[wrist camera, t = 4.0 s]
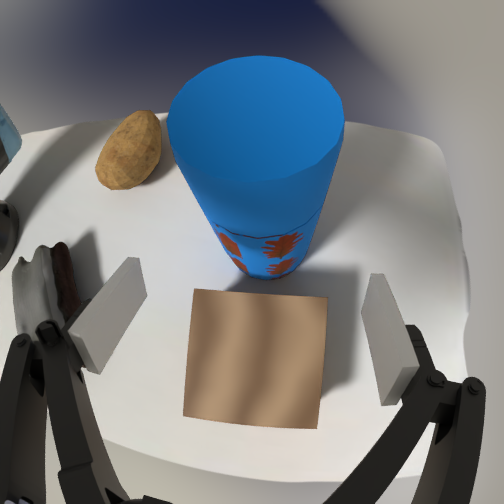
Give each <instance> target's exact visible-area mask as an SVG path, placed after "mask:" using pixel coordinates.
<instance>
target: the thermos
mask: <svg viewBox="0 0 504 504" xmlns="http://www.w3.org/2000/svg"><path fill="white" fill-rule="evenodd" d="M166 123H167V128H168V134H169V139H170V144H171V147H172V151H173V154H174V157H175V161H176V163H177V165H178V167H179V168H180V170H181V172H182V174H183V176H184V178H185V179H186V181H187V183H188V185H189V187H190V189H191V190H192V192H193V194H194V196H195V198H196V199H197V201H198V203H199V205H200V207H201V208H202V210H203V212H204V214H205V216H206V217H207V219H208V221H209V223H210V225H211V226H212V228H213V230H214V232H215V234H216V235H217V237H218V239H219V241H220V242H221V244H222V246H223V248H224V249H225V251H226V253H227V254H228V255H229V257H230V258H231V259H232V261H233V262H234V263H235V264H236V266H237V267H238V268H239V269H240V270H241V271H243V272H244V273H246V274H248V275H249V276H251V277H254V278H258V279H263V280H270V279H277V278H281V277H283V276H285V275H287V274H289V273H291V272H292V271H293V270H294V269H295V268H296V267H297V266H298V265H299V264H300V262H301V261H302V260H303V258H304V256H305V255H306V252H307V250H308V247H309V244H310V242H311V239H312V236H313V233H314V230H315V227H316V224H317V221H318V218H319V215H320V212H321V209H322V206H323V203H324V200H325V197H326V194H327V191H328V188H329V184H330V181H331V178H332V175H333V172H334V168H335V165H336V162H337V159H338V155H339V152H340V149H341V145H342V142H343V136H344V123H345V120H344V114H343V108H342V102H341V98H340V97H339V95H338V94H337V92H336V91H335V90H334V88H333V87H332V85H331V84H330V82H329V81H328V80H327V79H325V78H324V77H323V76H321V75H320V74H318V73H317V72H316V71H314V70H313V69H311V68H310V67H308V66H306V65H303V64H300V63H298V62H294V61H292V60H289V59H286V58H280V57H271V56H259V55H257V56H249V57H241V58H234V59H230V60H227V61H224V62H221V63H219V64H216V65H214V66H211V67H208V68H207V69H205V70H203V71H202V72H201V73H199V74H198V75H196V76H195V77H193V78H192V79H191V80H189V81H188V82H187V83H186V84H185V85H184V86H183V88H182V89H181V90H180V92H179V93H178V94H177V95H176V97H175V98H174V99H173V101H172V104H171V107H170V110H169V114H168V118H167V121H166Z"/></svg>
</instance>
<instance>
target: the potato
mask: <svg viewBox="0 0 504 504" xmlns="http://www.w3.org/2000/svg"><path fill="white" fill-rule="evenodd" d="M160 155H161V126H160V122H159V119H158V118H157V117H156V115H155V114H154V113H153V112H152V111H151V110H139V111H136V112H135V113H133V114H131V115H129V116H128V117H126V119H125V120H124V121H123V122H122V123H121V124H120V125H119V126H118V128H117V129H116V130H115V131H114V132H113V134H112V135H111V136H110V138H109V139H108V140H107V142H106V144H105V146H104V147H103V149H102V151H101V153H100V156H99V158H98V161H97V164H96V167H95V171H96V174H97V177H98V180H99V181H100V182H101V184H103V185H104V186H106V187H107V188H109V189H111V190H124V189H131V188H133V187H135V186H137V185H139V184H140V183H141V182H143V181H144V180H145V179H146V178H147V177H148V176H149V175H150V173H151V172H152V171H153V170H154V168H155V166H156V165H157V163H158V162H159V159H160Z"/></svg>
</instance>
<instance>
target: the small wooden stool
mask: <svg viewBox="0 0 504 504" xmlns="http://www.w3.org/2000/svg"><path fill="white" fill-rule="evenodd" d="M327 303H328V297H307V296H289V295H272V294H257V293H243V292H230V291H217V290H206V289H194V294H193V303H192V312H191V322H190V332H189V343H188V354H187V366H186V379H185V393H184V408H183V416H186V417H191V418H197V419H203V420H210V421H217V422H224V423H232V424H241V425H251V426H263V427H277V428H300V429H317V424H318V415H319V407H320V398H321V388H322V377H323V366H324V353H325V339H326V323H327Z"/></svg>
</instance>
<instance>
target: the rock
mask: <svg viewBox="0 0 504 504" xmlns="http://www.w3.org/2000/svg"><path fill="white" fill-rule="evenodd" d="M12 287H13V304H14V312H15V320H16V328H17V333H18V335H19V334H22V333H27V334H29V335H30V337H31V339H32V340H33V341H39V339H38V337H37V335H36V333H35V329H36V327H37V326H38V325H39V324H40V323H41V322H43V321H45V320H49V319H52V320H55V321H57V323H58V325H59V327H60V329H62V328H63V326H64V325H65V324H66V322H67V321H68V320H69V319H70V317H71V316H73V314H74V312H75V311H77V309H78V307H79V306H80V305H81V301H80V299H79V297H78V294H77V291H76V287H75V282H74V277H73V267H72V263H71V258H70V254H69V250H68V247H67V246H66V244H64V243H63V242H58V243H57V244H55V246H54V247H52V248H49V247H47V246H45V245H40V246H39V247H38V248H37V249H36V250H35V253H34V256H33V259H32V261H31V262H27V261H26V260H24V258H23V257H19V260H18V263H17V265H16V266H15V267H14V269H13V271H12ZM82 367H83V368H86V367H85V365H84V364H83V366H82Z"/></svg>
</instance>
